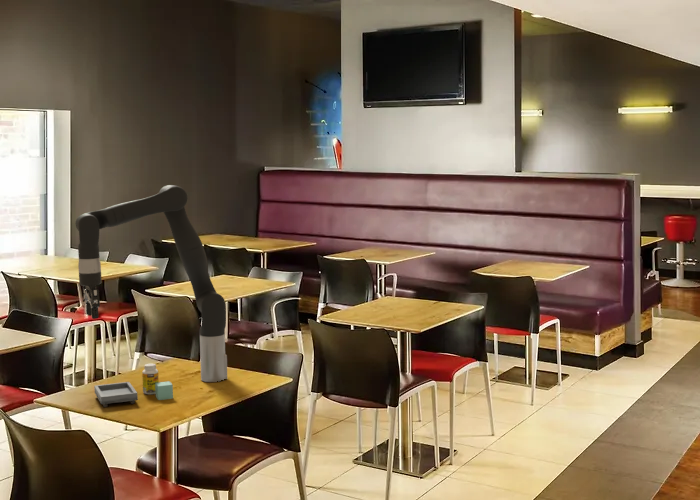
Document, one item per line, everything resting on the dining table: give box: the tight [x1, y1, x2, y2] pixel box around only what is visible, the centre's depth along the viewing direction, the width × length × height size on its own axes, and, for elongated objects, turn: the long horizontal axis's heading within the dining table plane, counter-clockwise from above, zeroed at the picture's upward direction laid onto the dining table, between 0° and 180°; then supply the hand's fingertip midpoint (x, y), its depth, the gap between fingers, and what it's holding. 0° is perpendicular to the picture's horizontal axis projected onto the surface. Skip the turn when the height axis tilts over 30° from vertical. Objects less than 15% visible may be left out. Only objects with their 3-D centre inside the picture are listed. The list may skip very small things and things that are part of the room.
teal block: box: [155, 380, 174, 401], centre depth 308 cm, size 5×5×5 cm
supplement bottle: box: [142, 363, 160, 395], centre depth 314 cm, size 6×6×10 cm
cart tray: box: [93, 381, 139, 408], centre depth 305 cm, size 12×16×4 cm
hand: (92, 316), depth 310 cm, fingers open, 8 cm apart
